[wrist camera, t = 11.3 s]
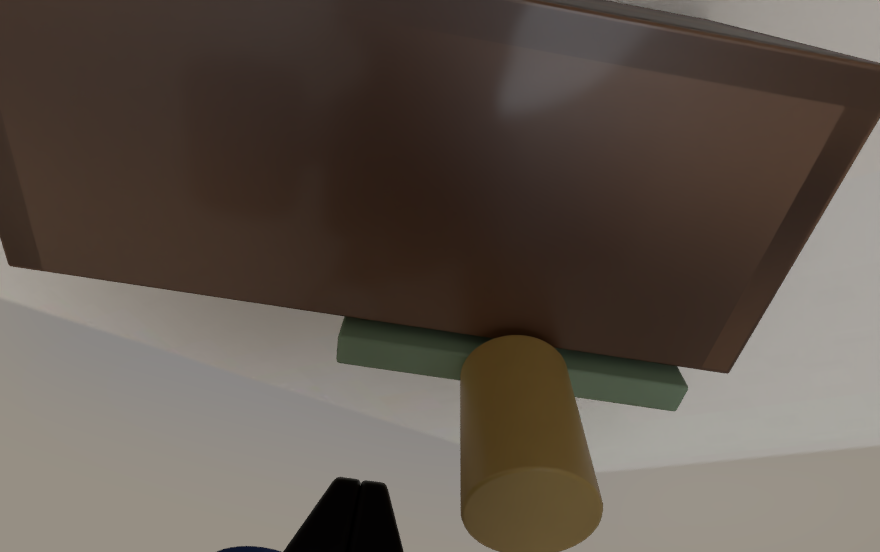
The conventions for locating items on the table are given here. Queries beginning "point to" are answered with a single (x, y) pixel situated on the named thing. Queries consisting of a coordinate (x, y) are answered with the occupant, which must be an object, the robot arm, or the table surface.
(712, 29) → the cupboard
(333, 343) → the table surface
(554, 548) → the sliding door
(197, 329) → the table surface
